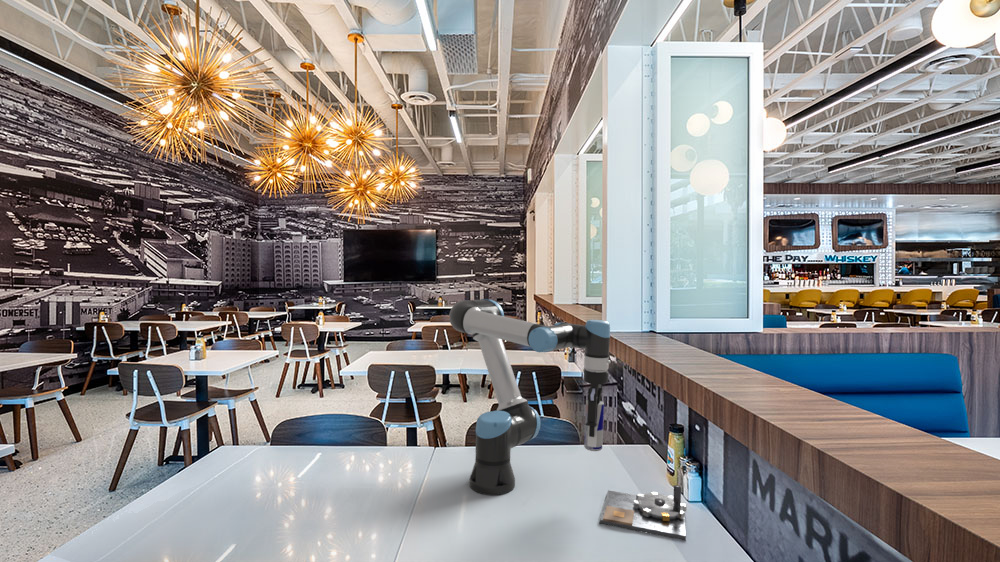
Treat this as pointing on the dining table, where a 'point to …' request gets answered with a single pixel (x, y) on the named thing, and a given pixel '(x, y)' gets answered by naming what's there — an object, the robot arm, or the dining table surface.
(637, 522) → the base plate
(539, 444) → the dining table surface
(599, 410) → the beverage can
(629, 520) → the marked pad
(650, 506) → the index wheel
